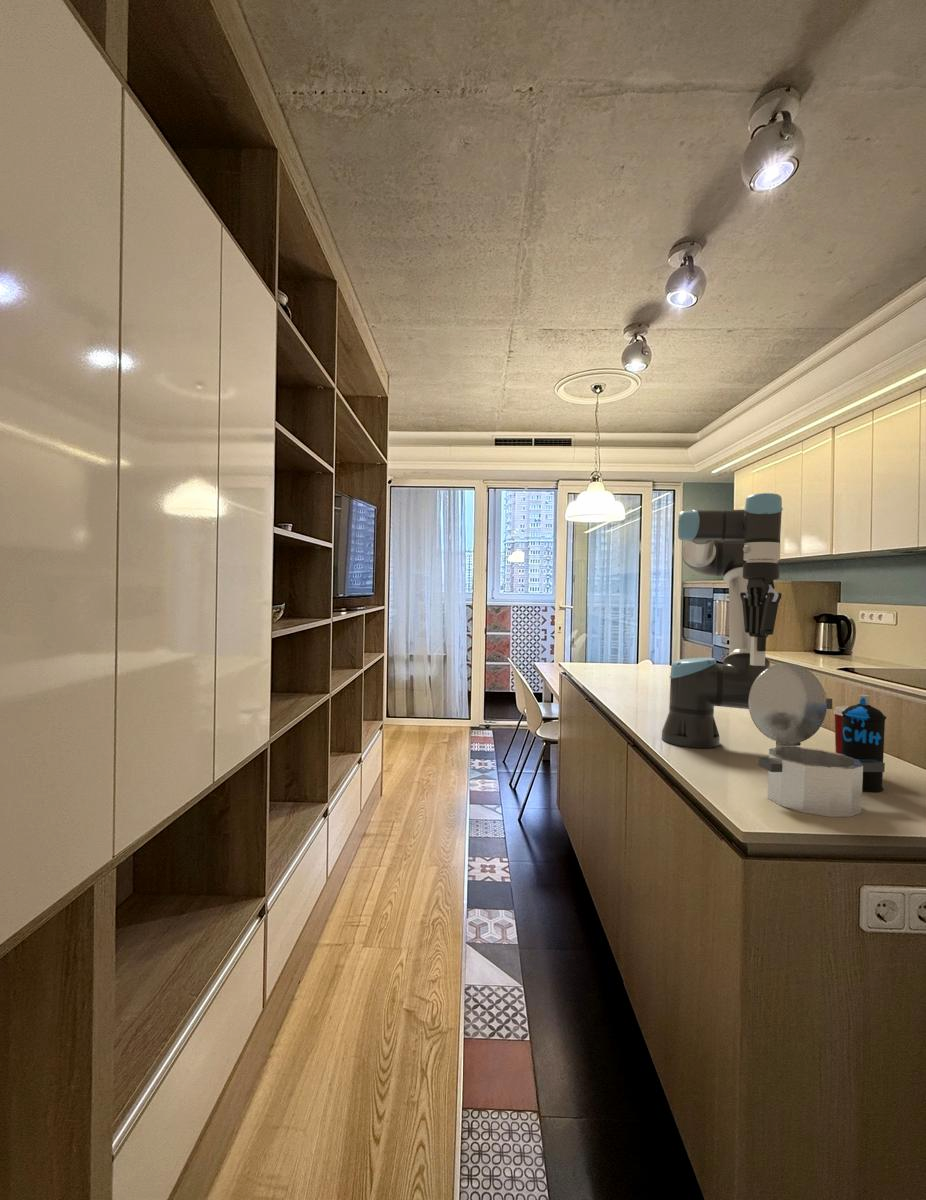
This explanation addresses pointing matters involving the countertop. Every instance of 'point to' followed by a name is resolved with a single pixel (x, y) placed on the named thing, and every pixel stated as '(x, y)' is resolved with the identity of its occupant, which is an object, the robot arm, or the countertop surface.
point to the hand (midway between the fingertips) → (757, 665)
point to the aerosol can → (864, 738)
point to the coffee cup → (839, 727)
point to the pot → (817, 780)
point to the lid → (788, 704)
